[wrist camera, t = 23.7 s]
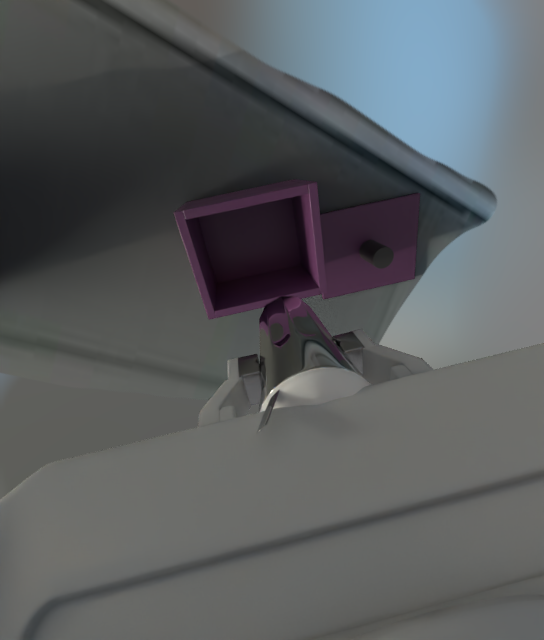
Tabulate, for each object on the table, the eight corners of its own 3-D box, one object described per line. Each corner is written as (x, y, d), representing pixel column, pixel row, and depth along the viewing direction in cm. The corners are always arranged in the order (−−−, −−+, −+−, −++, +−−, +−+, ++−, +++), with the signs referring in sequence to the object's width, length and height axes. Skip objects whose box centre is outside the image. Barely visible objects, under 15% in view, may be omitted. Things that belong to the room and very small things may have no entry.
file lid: (322, 297, 40) (332, 312, 36) (313, 215, 35) (324, 221, 31) (412, 277, 40) (432, 289, 36) (417, 192, 35) (442, 195, 31)
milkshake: (273, 259, 16) (321, 375, 7) (336, 313, 18) (434, 454, 9) (223, 317, 17) (210, 474, 8) (287, 361, 19) (331, 523, 10)
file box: (212, 288, 37) (207, 320, 29) (185, 202, 32) (172, 212, 24) (306, 267, 38) (327, 292, 30) (295, 179, 33) (317, 181, 25)
